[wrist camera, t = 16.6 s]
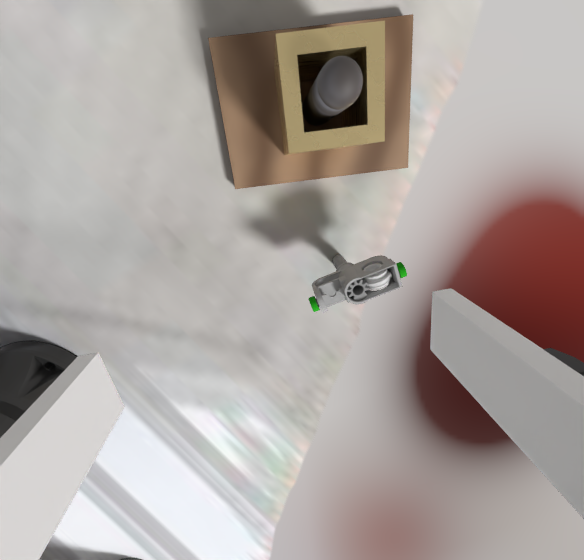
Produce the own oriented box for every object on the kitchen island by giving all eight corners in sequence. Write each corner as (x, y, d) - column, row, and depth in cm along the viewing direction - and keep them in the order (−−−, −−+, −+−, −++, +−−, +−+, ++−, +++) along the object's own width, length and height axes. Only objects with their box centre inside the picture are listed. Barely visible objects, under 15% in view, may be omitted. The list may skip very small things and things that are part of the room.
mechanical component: (298, 265, 39) (307, 297, 30) (371, 235, 38) (403, 259, 29) (306, 284, 40) (317, 320, 31) (377, 255, 39) (410, 285, 30)
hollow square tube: (284, 155, 33) (289, 153, 24) (274, 69, 30) (275, 33, 21) (355, 146, 33) (384, 141, 24) (352, 59, 30) (384, 20, 21)
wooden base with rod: (236, 187, 35) (216, 204, 22) (211, 43, 30) (164, -48, 17) (402, 167, 35) (479, 171, 22) (406, 21, 30) (510, -85, 17)
